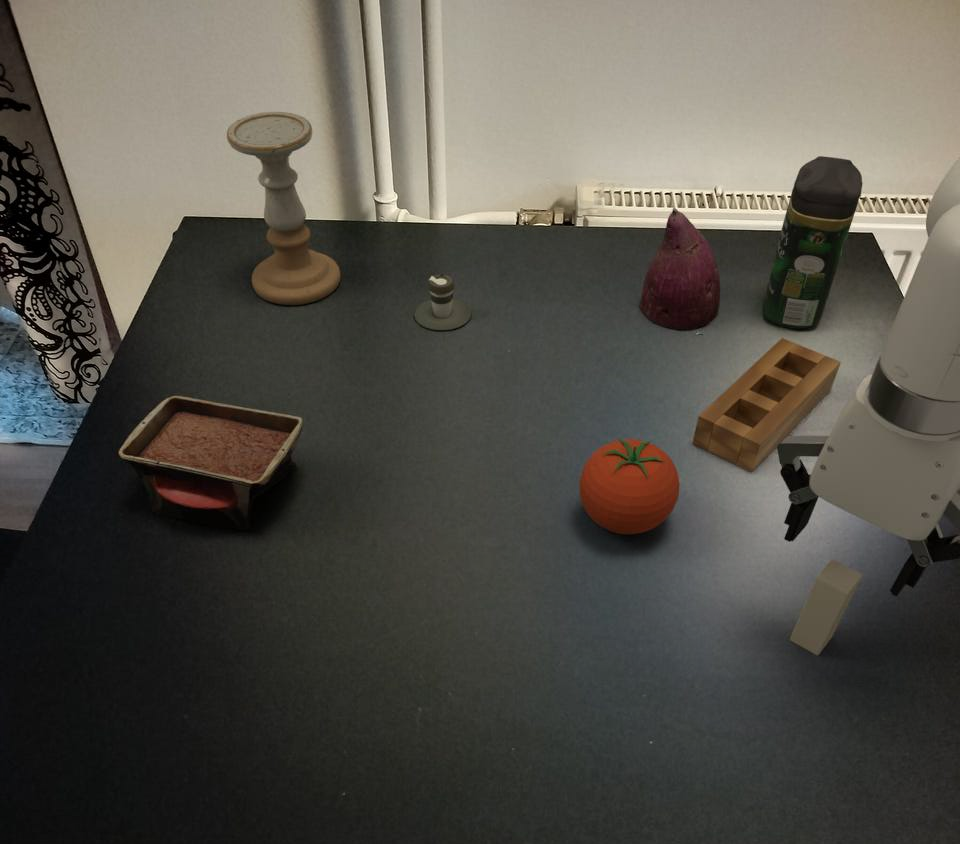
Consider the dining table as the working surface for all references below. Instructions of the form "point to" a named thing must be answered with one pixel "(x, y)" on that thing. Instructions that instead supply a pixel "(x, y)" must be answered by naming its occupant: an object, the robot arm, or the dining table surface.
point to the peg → (825, 606)
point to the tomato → (629, 486)
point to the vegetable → (682, 278)
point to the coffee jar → (812, 241)
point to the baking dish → (210, 458)
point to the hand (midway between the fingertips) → (846, 558)
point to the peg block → (765, 404)
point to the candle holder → (284, 211)
